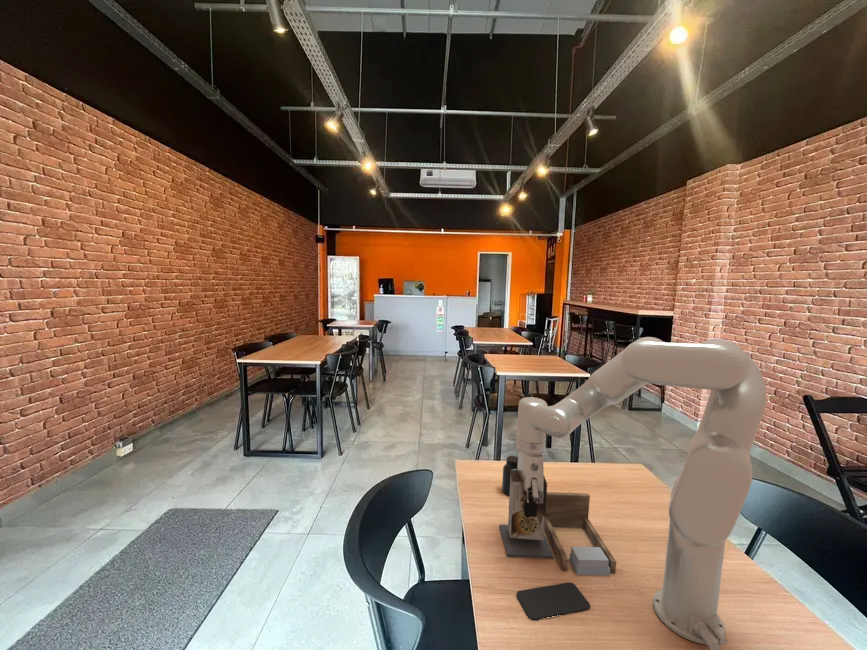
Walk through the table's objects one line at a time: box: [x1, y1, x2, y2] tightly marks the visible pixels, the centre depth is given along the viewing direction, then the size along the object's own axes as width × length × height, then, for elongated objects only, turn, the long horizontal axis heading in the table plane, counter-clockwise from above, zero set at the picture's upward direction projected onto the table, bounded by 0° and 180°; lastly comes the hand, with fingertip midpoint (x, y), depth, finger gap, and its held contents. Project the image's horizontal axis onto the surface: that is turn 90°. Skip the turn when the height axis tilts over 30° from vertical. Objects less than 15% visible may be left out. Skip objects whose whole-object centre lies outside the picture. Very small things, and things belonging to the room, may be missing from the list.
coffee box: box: [507, 470, 548, 540], centre depth 99 cm, size 9×6×16 cm
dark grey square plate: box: [498, 524, 555, 560], centre depth 100 cm, size 12×12×1 cm
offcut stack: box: [568, 546, 611, 577], centre depth 92 cm, size 5×8×4 cm, turn 91°
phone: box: [515, 581, 591, 621], centre depth 81 cm, size 7×1×15 cm
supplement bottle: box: [501, 455, 518, 497], centre depth 125 cm, size 7×7×12 cm
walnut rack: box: [545, 491, 617, 574], centre depth 99 cm, size 18×13×10 cm
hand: (526, 507), depth 99 cm, fingers closed on coffee box, 6 cm apart
